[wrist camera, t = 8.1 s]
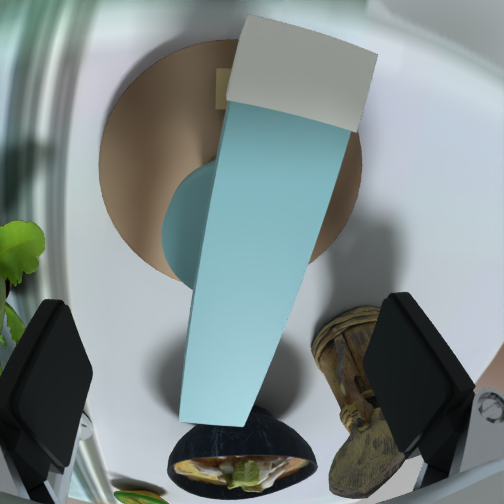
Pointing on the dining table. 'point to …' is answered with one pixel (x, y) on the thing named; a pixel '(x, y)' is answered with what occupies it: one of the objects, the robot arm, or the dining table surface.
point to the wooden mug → (356, 406)
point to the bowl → (241, 458)
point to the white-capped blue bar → (259, 207)
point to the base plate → (184, 147)
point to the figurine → (139, 497)
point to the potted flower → (17, 267)
